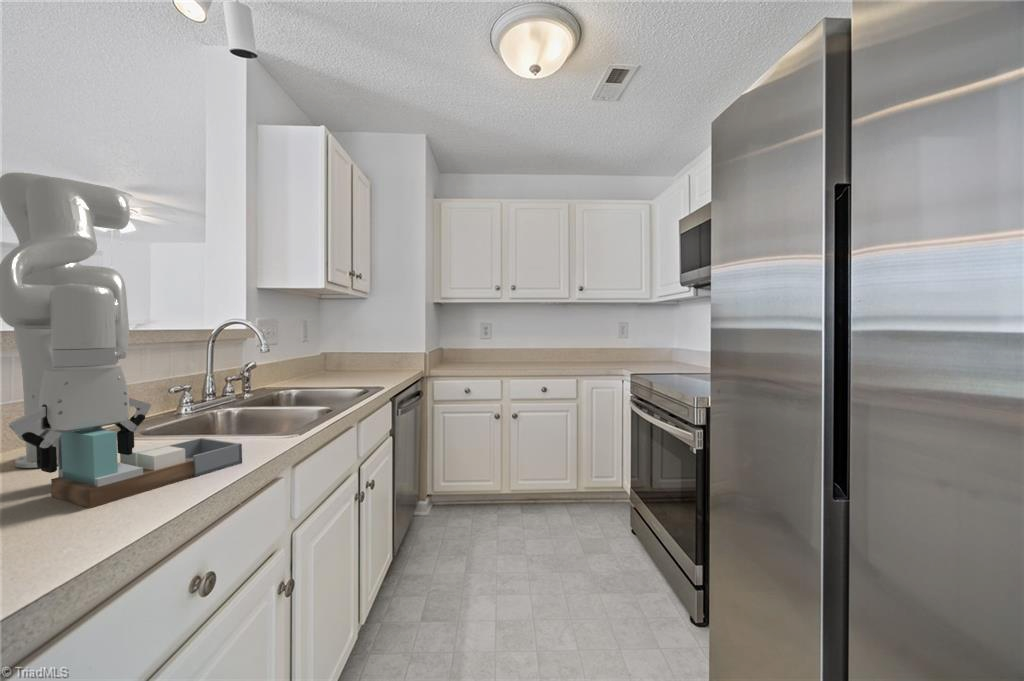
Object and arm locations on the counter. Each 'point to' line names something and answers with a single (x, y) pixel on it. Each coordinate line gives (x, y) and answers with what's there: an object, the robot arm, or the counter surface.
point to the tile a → (133, 457)
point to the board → (119, 485)
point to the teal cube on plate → (93, 458)
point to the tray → (211, 454)
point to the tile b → (161, 458)
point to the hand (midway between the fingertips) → (89, 462)
